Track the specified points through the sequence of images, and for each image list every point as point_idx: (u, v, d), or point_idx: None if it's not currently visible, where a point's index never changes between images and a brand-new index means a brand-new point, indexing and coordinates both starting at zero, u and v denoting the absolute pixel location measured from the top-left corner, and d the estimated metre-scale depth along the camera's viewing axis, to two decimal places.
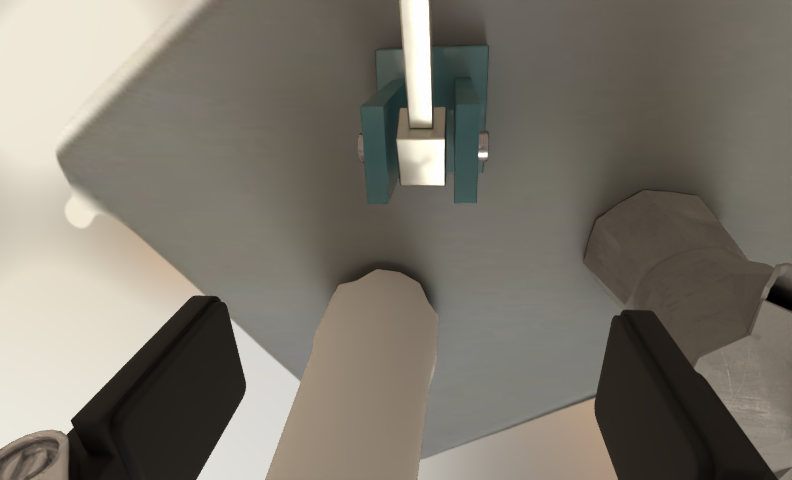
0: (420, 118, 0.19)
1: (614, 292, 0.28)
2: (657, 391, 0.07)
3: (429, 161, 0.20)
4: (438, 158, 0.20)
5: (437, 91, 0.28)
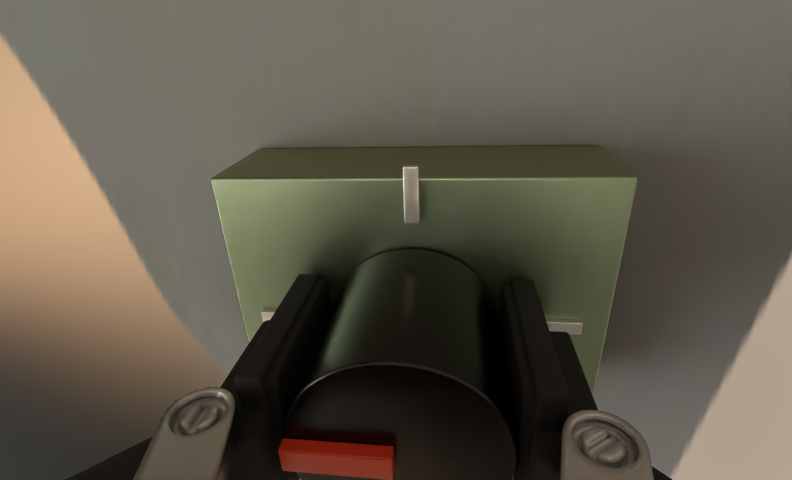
0: None
1: None
2: (513, 342, 0.09)
3: None
4: None
5: None
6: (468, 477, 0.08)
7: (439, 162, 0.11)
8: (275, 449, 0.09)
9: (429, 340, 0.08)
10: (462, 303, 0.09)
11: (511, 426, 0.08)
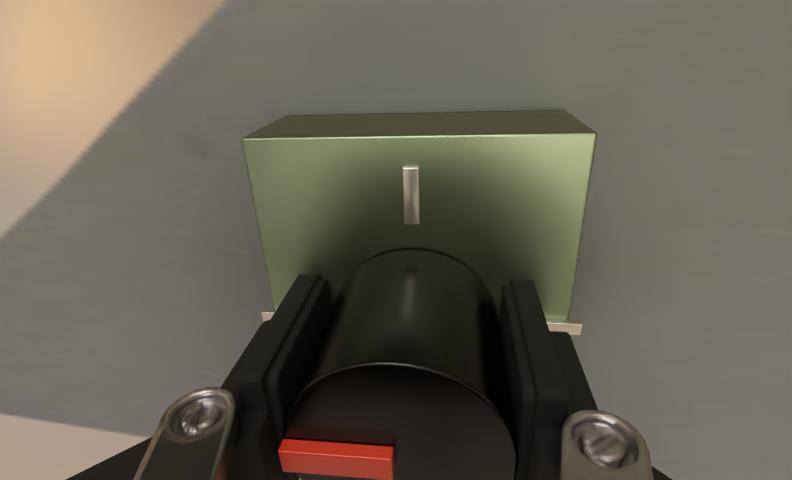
0: None
1: None
2: (513, 342, 0.09)
3: None
4: None
5: None
6: (468, 478, 0.08)
7: None
8: (275, 449, 0.09)
9: (429, 340, 0.08)
10: (462, 304, 0.09)
11: (511, 426, 0.08)
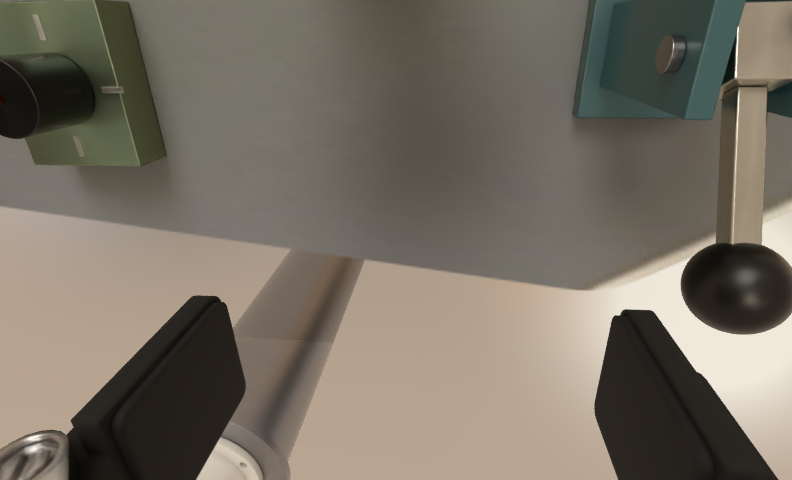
0: (752, 100, 0.16)
1: None
2: (657, 391, 0.07)
3: (757, 42, 0.16)
4: (745, 49, 0.16)
5: None
6: (24, 107, 0.24)
7: (134, 96, 0.29)
8: None
9: (6, 57, 0.24)
10: (43, 60, 0.25)
11: (28, 82, 0.24)
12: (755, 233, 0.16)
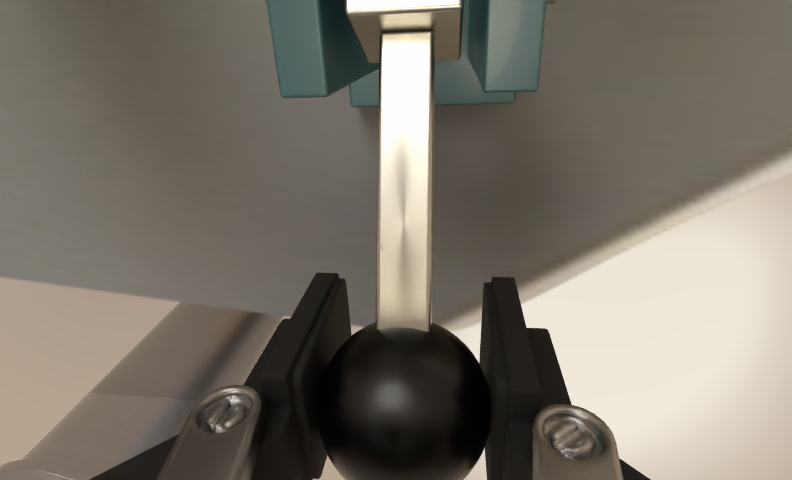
0: (405, 57, 0.09)
1: None
2: (490, 338, 0.09)
3: None
4: None
5: None
6: None
7: None
8: (298, 446, 0.09)
9: None
10: None
11: None
12: (416, 308, 0.09)
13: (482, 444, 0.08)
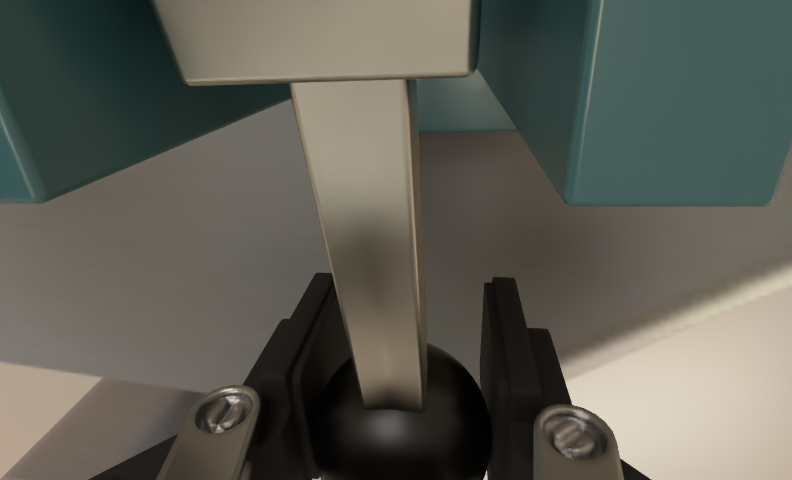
0: (349, 115, 0.04)
1: None
2: (491, 338, 0.09)
3: None
4: None
5: None
6: None
7: None
8: (297, 447, 0.09)
9: None
10: None
11: None
12: (408, 399, 0.07)
13: None
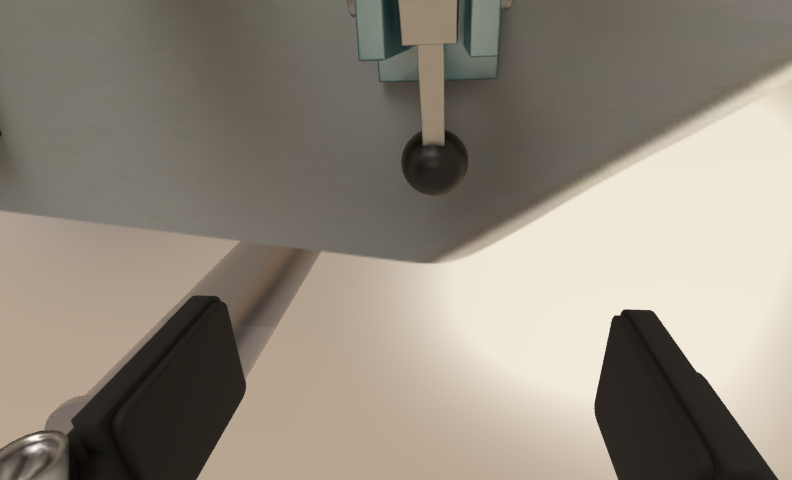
0: (430, 48, 0.18)
1: None
2: (657, 391, 0.07)
3: (417, 13, 0.16)
4: (406, 19, 0.16)
5: None
6: None
7: None
8: None
9: None
10: None
11: None
12: (439, 139, 0.22)
13: (463, 177, 0.23)
